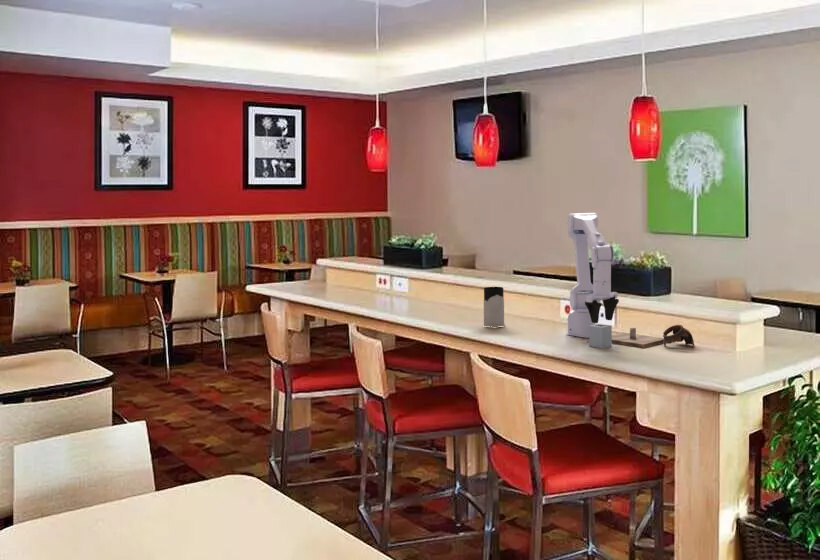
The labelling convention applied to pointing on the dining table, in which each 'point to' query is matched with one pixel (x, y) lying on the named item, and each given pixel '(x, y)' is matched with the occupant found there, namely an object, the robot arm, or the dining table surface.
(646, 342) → the pin plate
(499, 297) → the glass holder
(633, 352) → the dining table surface
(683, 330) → the brown curved band
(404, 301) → the dining table surface
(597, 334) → the sleeve
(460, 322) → the dining table surface
